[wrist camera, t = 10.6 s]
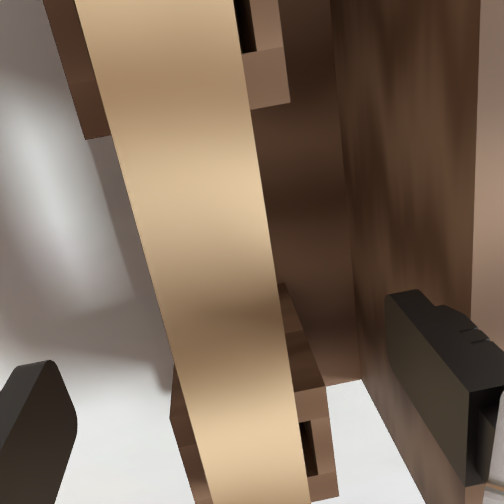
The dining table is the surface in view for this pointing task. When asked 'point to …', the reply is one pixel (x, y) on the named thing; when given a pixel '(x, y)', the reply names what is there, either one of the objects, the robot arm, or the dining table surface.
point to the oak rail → (203, 231)
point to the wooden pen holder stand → (360, 194)
